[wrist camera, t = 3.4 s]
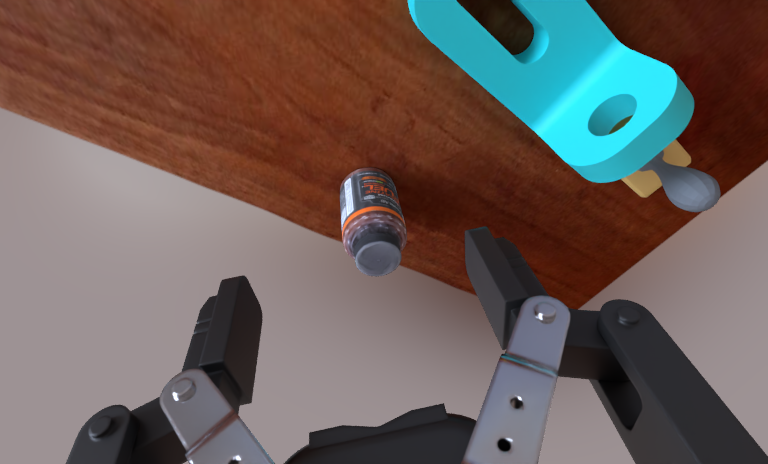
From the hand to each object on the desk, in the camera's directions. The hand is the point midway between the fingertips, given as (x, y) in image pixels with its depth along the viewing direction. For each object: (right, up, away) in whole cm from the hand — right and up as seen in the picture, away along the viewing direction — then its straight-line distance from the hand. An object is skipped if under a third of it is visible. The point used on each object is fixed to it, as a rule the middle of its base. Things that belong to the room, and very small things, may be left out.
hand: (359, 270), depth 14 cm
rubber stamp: (+27, +11, +28) cm, 41 cm away
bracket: (+12, +19, +20) cm, 30 cm away
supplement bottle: (-1, +6, +28) cm, 29 cm away
